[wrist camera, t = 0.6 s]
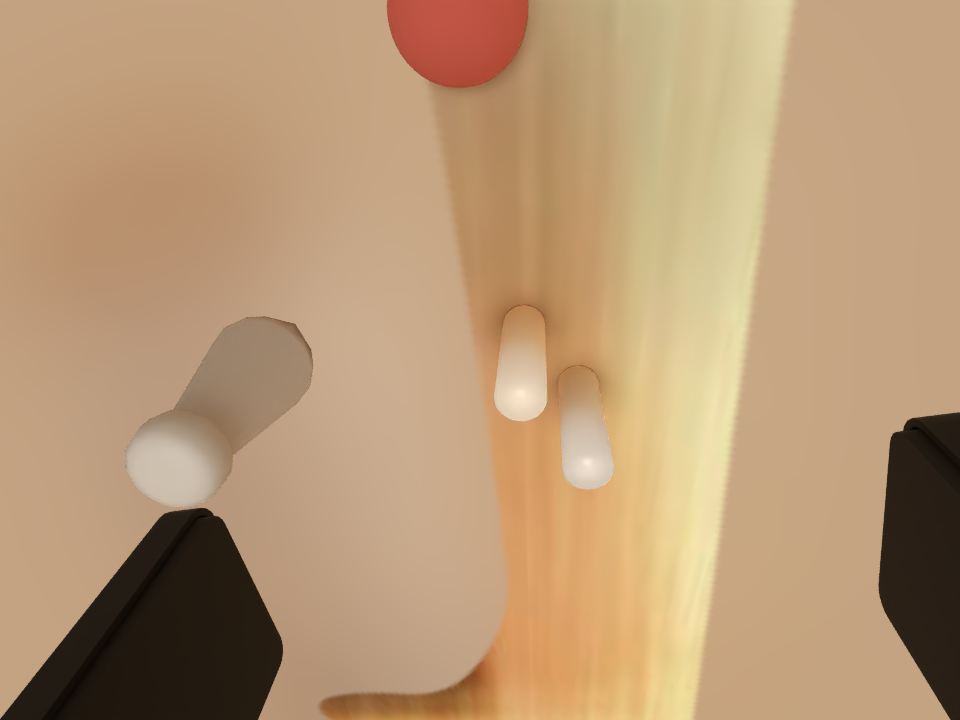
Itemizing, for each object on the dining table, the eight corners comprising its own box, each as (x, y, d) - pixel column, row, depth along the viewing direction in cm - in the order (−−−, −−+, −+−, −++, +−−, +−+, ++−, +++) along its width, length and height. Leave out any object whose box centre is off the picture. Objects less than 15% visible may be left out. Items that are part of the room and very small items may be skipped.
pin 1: (499, 308, 36) (489, 378, 28) (541, 302, 36) (542, 371, 28) (507, 346, 37) (499, 424, 29) (548, 340, 37) (550, 417, 29)
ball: (387, -43, 29) (353, -64, 24) (516, -77, 28) (511, -107, 23) (419, 96, 31) (394, 105, 26) (538, 69, 30) (539, 73, 25)
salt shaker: (291, 406, 40) (191, 552, 29) (213, 352, 39) (75, 482, 27) (342, 343, 38) (255, 474, 26) (260, 284, 37) (131, 393, 25)
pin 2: (554, 368, 37) (559, 451, 30) (595, 363, 37) (610, 445, 29) (560, 403, 38) (567, 492, 31) (600, 398, 38) (616, 486, 30)
